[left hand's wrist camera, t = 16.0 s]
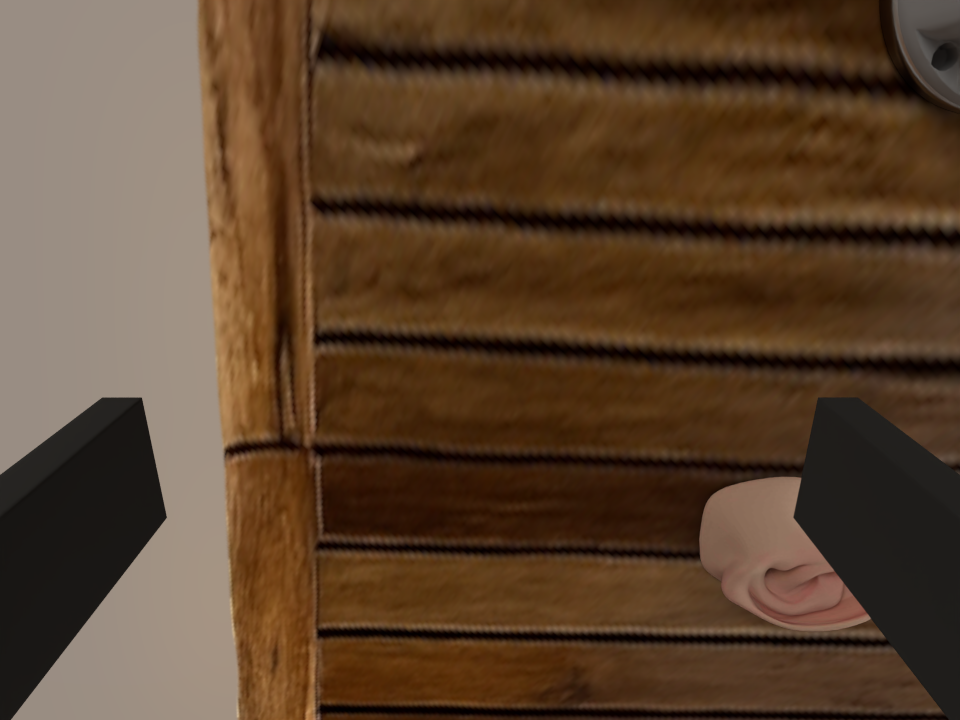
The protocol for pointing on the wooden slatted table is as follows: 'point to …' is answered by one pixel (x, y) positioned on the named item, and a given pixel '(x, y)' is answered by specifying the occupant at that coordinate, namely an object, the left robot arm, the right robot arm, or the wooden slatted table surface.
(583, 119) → the wooden slatted table surface
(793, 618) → the anatomical model
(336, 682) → the wooden slatted table surface
